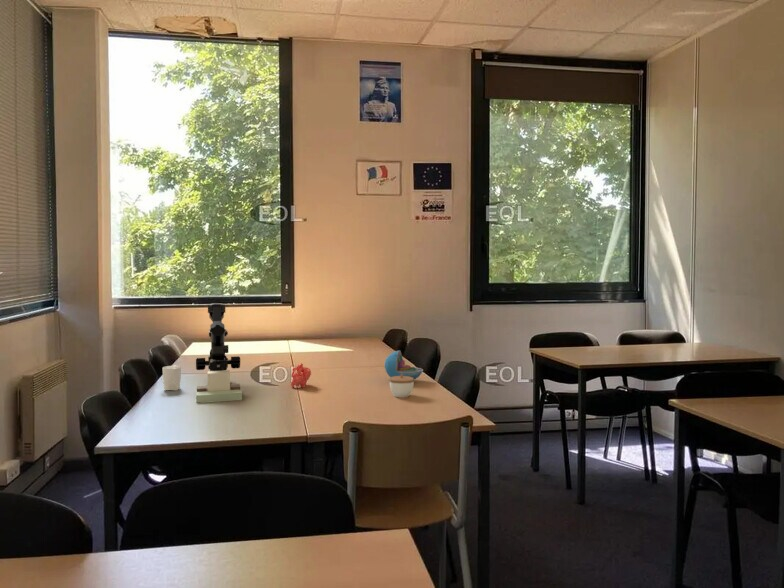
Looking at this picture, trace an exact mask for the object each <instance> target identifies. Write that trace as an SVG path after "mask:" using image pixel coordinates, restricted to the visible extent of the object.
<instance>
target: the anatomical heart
mask: <svg viewBox="0 0 784 588" xmlns="http://www.w3.org/2000/svg"><path fill="white" fill-rule="evenodd" d="M311 375H312V371H311V369H310V368H309V367H306V366H304V363H302V362H301V363H300V364H297V365H296V366H295V367H292V372H291V375H290V376H291V377H292V379H291V382H290V386H291V388H294V387H298V388H300V386H301V387H302V388H305V386H306V385H307V382H308V381H309V379H310V377H311Z"/></svg>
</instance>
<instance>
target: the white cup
mask: <svg viewBox="0 0 784 588" xmlns="http://www.w3.org/2000/svg"><path fill="white" fill-rule="evenodd" d="M162 380H163V390H164V389H165V390H164V391H166V390H175V391H178V389H179V390H180V389H181V380H182V366H180V365H167V366H163V367H162Z"/></svg>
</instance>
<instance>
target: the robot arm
mask: <svg viewBox="0 0 784 588" xmlns="http://www.w3.org/2000/svg"><path fill="white" fill-rule="evenodd" d="M207 313H208V314H209V315H208V316H209V319H210V321H211V322H212V323H211V324H210V325H209V326H210V329H208V337H209V338H210V346H211V347H210V351H209V356H208V358H207V360H206V357H196V359H195V369H196V370H197V371H204V370H205V369H206V367H207V368H208V370H209V371H224V370H228V368H229V365H230V368H231V369H240V368H241V357H240V356H239V355H238V356H237V355H236V356H235V355H234V356H230V359H229V358H228V356H227V355H226V354H228V353H229V344H225V337H226V338H227V336H228V335H229V334H228V333H229V331H228V330H227V329H226V328H225V327H226V326H225V324H224V323H223V322H222V321H223V319H224V317H225V313H226V304H223V303H210V304H208V305H207Z"/></svg>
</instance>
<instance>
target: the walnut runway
mask: <svg viewBox="0 0 784 588" xmlns="http://www.w3.org/2000/svg"><path fill="white" fill-rule="evenodd" d="M230 390H241V385H240V383H230ZM206 391H208V384H207V385H196V393H197V392H206ZM222 391H225V390H222Z"/></svg>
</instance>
